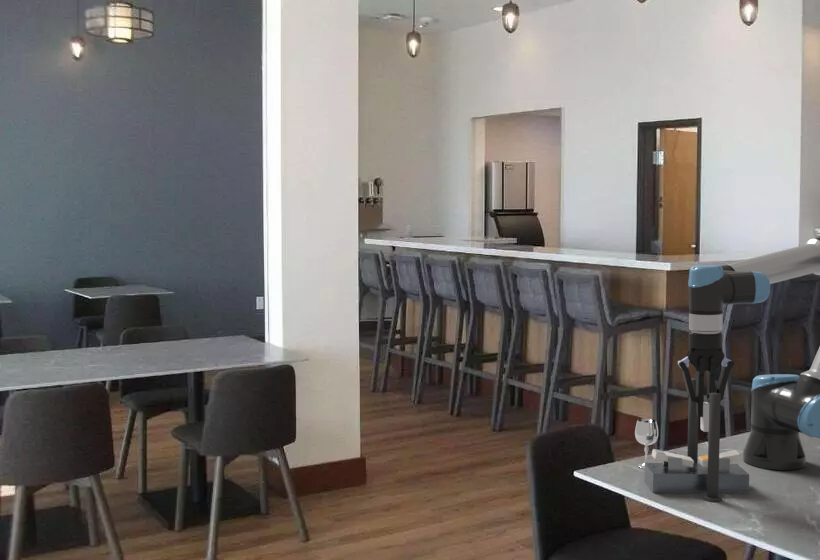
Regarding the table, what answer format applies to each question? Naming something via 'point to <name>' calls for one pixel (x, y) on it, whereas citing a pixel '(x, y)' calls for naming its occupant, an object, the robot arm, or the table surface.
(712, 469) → the post near
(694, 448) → the post far
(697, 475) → the panel
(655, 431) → the wineglass
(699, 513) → the table surface
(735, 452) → the paddle
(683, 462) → the paddle
